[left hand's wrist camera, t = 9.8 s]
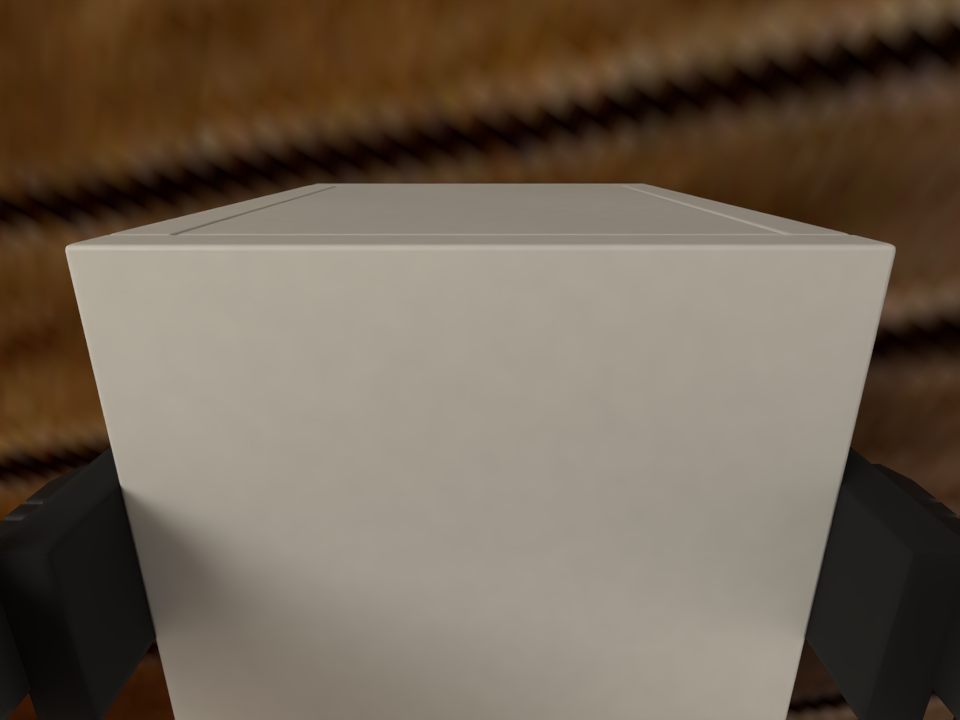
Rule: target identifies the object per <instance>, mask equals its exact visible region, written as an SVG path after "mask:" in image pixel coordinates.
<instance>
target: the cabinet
mask: <svg viewBox="0 0 960 720" xmlns="http://www.w3.org/2000/svg"><path fill="white" fill-rule="evenodd" d="M65 252H66V256H67V260H68V264H69V269H70V273H71V277H72V281H73V286H74V290H75V294H76V298H77V303H78V307H79V311H80V315H81V320H82V324H83V328H84V333H85V337H86V341H87V345H88V350H89V354H90V358H91V362H92V367H93V371H94V375H95V379H96V384H97V388H98V392H99V396H100V401H101V405H102V409H103V413H104V418H105V422H106V426H107V431H108V435H109V439H110V443H111V448H112V452H113V456H114V460H115V465H116V469H117V473H118V477H119V482H120V486H121V490H122V494H123V499H124V503H125V507H126V512H127V516H128V520H129V524H130V529H131V533H132V537H133V541H134V546H135V550H136V554H137V558H138V563H139V567H140V571H141V575H142V580H143V584H144V588H145V593H146V597H147V601H148V605H149V610H150V614H151V618H152V622H153V627H154V631H155V635H156V639H157V644H158V648H159V652H160V656H161V661H162V665H163V669H164V674H165V678H166V682H167V686H168V691H169V695H170V699H171V703H172V708H173V712H174V716H175V720H786V716H787V712H788V708H789V703H790V699H791V695H792V691H793V686H794V682H795V678H796V674H797V669H798V665H799V661H800V657H801V652H802V648H803V644H804V640H805V635H806V631H807V627H808V623H809V618H810V614H811V610H812V606H813V601H814V597H815V593H816V588H817V584H818V580H819V576H820V571H821V567H822V563H823V559H824V554H825V550H826V546H827V542H828V537H829V533H830V529H831V525H832V520H833V516H834V512H835V508H836V503H837V499H838V495H839V491H840V486H841V482H842V478H843V474H844V469H845V465H846V461H847V456H848V452H849V448H850V444H851V439H852V435H853V431H854V427H855V422H856V418H857V414H858V410H859V405H860V401H861V397H862V393H863V388H864V384H865V380H866V376H867V371H868V367H869V363H870V359H871V354H872V350H873V346H874V341H875V337H876V333H877V329H878V324H879V320H880V316H881V312H882V307H883V303H884V299H885V295H886V290H887V286H888V282H889V278H890V273H891V269H892V265H893V261H894V256H895V252H896V249H895V246H893V245H891V244H888V243H884V242H880V241H876V240H872V239H868V238H864V237H860V236H856V235H848V234H846V233H842V232H838V231H834V230H830V229H826V228H822V227H818V226H814V225H810V224H806V223H802V222H798V221H794V220H789V219H785V218H781V217H777V216H773V215H769V214H765V213H761V212H757V211H753V210H749V209H745V208H740V207H736V206H732V205H728V204H724V203H720V202H716V201H712V200H708V199H704V198H700V197H696V196H692V195H687V194H683V193H679V192H675V191H671V190H667V189H663V188H659V187H655V186H650V185H646V184H315V185H311V186H305V187H301V188H297V189H293V190H289V191H285V192H281V193H277V194H273V195H269V196H264V197H260V198H256V199H252V200H248V201H244V202H240V203H236V204H232V205H228V206H224V207H219V208H215V209H211V210H207V211H203V212H199V213H195V214H191V215H187V216H183V217H179V218H174V219H170V220H166V221H162V222H158V223H154V224H150V225H146V226H142V227H138V228H133V229H129V230H125V231H121V232H117V233H113V234H110V235H106V236H102V237H98V238H93V239H89V240H85V241H81V242H77V243H73V244H70V245H68V246H67V247H66V250H65Z"/></svg>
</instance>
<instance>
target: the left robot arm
mask: <svg viewBox="0 0 960 720" xmlns="http://www.w3.org/2000/svg"><path fill="white" fill-rule="evenodd" d="M155 638H156V635H155V631H154V627H153V622H152V618H151V614H150V610H149V605H148V601H147V597H146V593H145V588H144V584H143V580H142V575H141V571H140V567H139V563H138V558H137V554H136V550H135V546H134V541H133V537H132V533H131V529H130V524H129V520H128V516H127V512H126V507H125V503H124V499H123V494H122V490H121V486H120V482H119V477H118V473H117V469H116V465H115V460H114V456H113V452H112V448H111V447H110V448H108V449H107V450H106V451H105V452H103V453H102V454H101V455H100V456H99V457H97V458H96V459H95V460H94V461H93V462H91V463H90V464H89V465H88V466H81V467H79V468H77V469H75V470H73V471H71V472H69V473H67V474H65V475H63V476H60V477H58V478H56V479H54V480H52V481H50V482H49V483H47V484H46V485H45V486H44V487H42V488H41V489H40V490H39V491H37V492H36V493H35V494H34V495H32V496H31V497H30V498H29V499H27V500H26V503H25V505H20V506H18V507H17V508H16V509H15V510H13V511H12V512H11V513H10V514H8V515H7V516H6V519H5V521H0V720H7V718H8V717H9V716H10V715H11V713H12V712H13V711H14V710H15V709H16V707H17V706H18V705H19V704H20V703H21V701H22V700H23V699H24V698H25V696H26V695H27V694H28V693H29V694H30V697H31V700H32V703H33V706H34V709H35V712H36V715H37V717H38V720H102V719H103V718H104V716H105V714H106V713H107V711H108V710H109V708H110V707H111V705H112V704H113V702H114V701H115V699H116V698H117V696H118V695H119V693H120V692H121V690H122V688H123V687H124V685H125V684H126V682H127V681H128V679H129V678H130V676H131V675H132V673H133V672H134V670H135V669H136V667H137V665H138V664H139V662H140V661H141V659H142V658H143V656H144V655H145V653H146V652H147V650H148V649H149V647H150V646H151V644H152V643H153V641H154V639H155ZM805 638H806V640H807V641H808V643H809V645H810V646H811V648H812V649H813V651H814V652H815V654H816V655H817V657H818V658H819V660H820V661H821V663H822V664H823V666H824V668H825V669H826V671H827V672H828V674H829V675H830V677H831V678H832V680H833V681H834V683H835V684H836V686H837V687H838V689H839V690H840V692H841V694H842V695H843V697H844V698H845V700H846V701H847V703H848V704H849V706H850V707H851V709H852V710H853V712H854V713H855V715H856V716H857V718H858V720H923V717H924V714H925V711H926V708H927V705H928V703H929V700H930V697H931V694H932V691H934V692H935V693H936V695H937V696H938V697H939V698H940V699H941V701H942V702H943V703H944V704H945V705H946V707H947V708H948V709H949V710H950V712H951V713H952V714H953V715H954V718H953V720H960V519H957V518H956V514H955V513H954V512H952V511H951V510H950V509H949V508H947V507H946V506H945V505H943V504H942V503H941V502H936V498H935V497H933V496H932V495H931V494H929V493H928V492H927V491H926V490H924V489H923V488H922V487H920V486H919V485H918V484H917V483H915V482H914V481H913V480H911V479H909V478H907V477H905V476H903V475H901V474H899V473H897V472H895V471H893V470H891V469H889V468H887V467H885V466H883V465H881V464H871V463H869V462H868V461H867V460H866V459H865V458H863V457H862V456H861V455H860V454H858V453H857V452H856V451H855V450H854V449H852V448H851V447H850V448H849V452H848V456H847V461H846V465H845V469H844V474H843V478H842V482H841V486H840V491H839V495H838V499H837V503H836V508H835V512H834V516H833V520H832V525H831V529H830V533H829V537H828V542H827V546H826V550H825V554H824V559H823V563H822V567H821V571H820V576H819V580H818V584H817V588H816V593H815V597H814V601H813V606H812V610H811V614H810V618H809V623H808V627H807V631H806V635H805Z"/></svg>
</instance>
